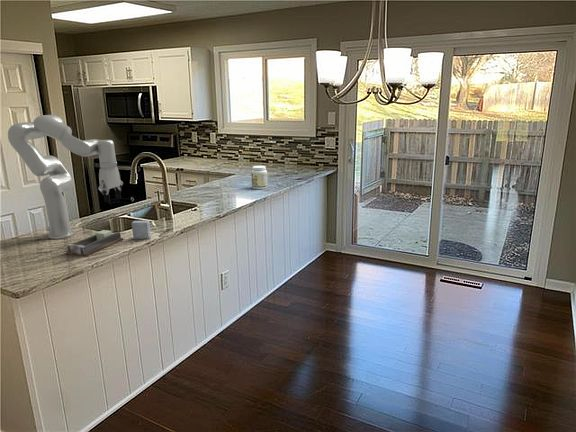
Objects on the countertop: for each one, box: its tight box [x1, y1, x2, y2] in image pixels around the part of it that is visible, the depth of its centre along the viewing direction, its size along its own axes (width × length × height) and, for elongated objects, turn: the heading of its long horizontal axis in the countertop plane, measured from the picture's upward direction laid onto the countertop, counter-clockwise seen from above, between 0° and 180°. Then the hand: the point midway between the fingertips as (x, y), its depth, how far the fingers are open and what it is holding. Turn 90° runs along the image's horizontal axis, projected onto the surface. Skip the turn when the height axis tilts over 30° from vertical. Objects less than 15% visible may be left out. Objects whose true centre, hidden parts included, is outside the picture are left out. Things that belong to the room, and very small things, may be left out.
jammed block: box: [95, 229, 113, 240], centre depth 207 cm, size 5×5×4 cm
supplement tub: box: [250, 165, 268, 190], centre depth 326 cm, size 12×12×17 cm
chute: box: [65, 231, 124, 257], centre depth 202 cm, size 12×24×5 cm, turn 160°
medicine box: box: [131, 220, 152, 240], centre depth 213 cm, size 8×4×9 cm, turn 92°
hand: (113, 200), depth 211 cm, fingers open, 6 cm apart
